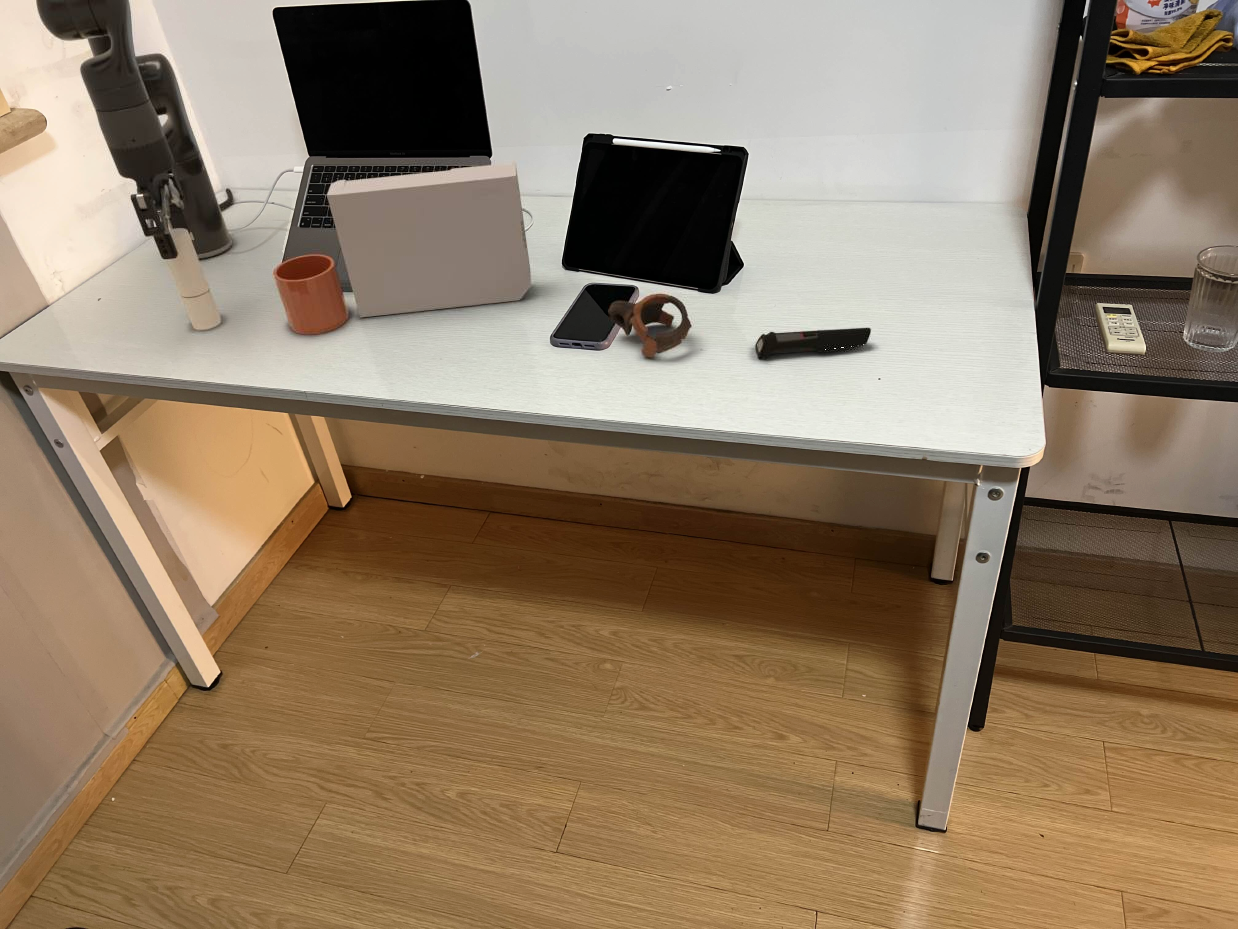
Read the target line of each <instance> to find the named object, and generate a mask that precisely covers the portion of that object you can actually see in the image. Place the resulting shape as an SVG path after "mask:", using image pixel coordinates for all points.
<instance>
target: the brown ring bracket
mask: <svg viewBox="0 0 1238 929" xmlns="http://www.w3.org/2000/svg"><path fill="white" fill-rule="evenodd" d="M665 304H672V305H673V306H675V307H676V309H678V310H679V312H680V315H681V321H680V324H679V325H678V326H677V327H676V328H675V329H673V330H671V331H669V332H655V333H654V334H655V337H653V336H651V335H650V334H649V328H648V327H647V326H648V325H650V324H661V325H664V326H667V327H672V325H673V321H674V319H675V316H674V315H673V314H670V313H668V312H667V311H665V310H663V308H664V306H665ZM607 313H608V315H609V317H610V319H611V320H612V322H614V324H615V325H617V326H618V327H620V328H621V329H622V330H623V332H624V333H625V336H626V337H629V336H630V334H631V332H632V330H634V332H635V333H636V336H638V338H639V339H640V340H641V341H642V342H643V347H642V349H641V355H642V356H645V357H647V358H648V359H649V358H650V359H652V358H653V357H654V356H656V354H661V353H662V354H663V353H665V352H667V351H669V350H672V349H674V348H676V347H677V346H679V345H681V344H682V341H683V340H685V339H686V337H687V336H688V333H689V331H690V329H691V328H692V326H693V325H692V322H691V321H690V319H689V314H688V310H687V308H686V306H685V304H684V303H683V302H682V301H681V300H680V299H679V298H677V297H675V296H673V295H670V294H666V293H653V294H649V295H647V296H645V297H643V298H642V299H641V300H639V301H638V302H635V303H634V302H629V301H628V300H627V301H626V300H616V301H613V302H612V303H611V304H610V306H609V308H608V310H607Z"/></svg>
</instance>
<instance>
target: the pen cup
mask: <svg viewBox="0 0 1238 929" xmlns="http://www.w3.org/2000/svg"><path fill="white" fill-rule="evenodd" d="M272 276H273V279H274V282H275V286H276V288H277V291H278V294H279V297H280V300H281V303H282V307H283V310H284V313H285V315H286V319H287V321H288V324H289V327H290V329H291V331H293V332H294V333H297V334H300V335H306V336H310V335H320V334H325V333H328V332H331V331H334V330H335V329H338V328H340V327H341V326H343V325H344V324H346V322H347V321H348V319H349V317H350V316H349V315H350V314H349V308H348V305H347V302H346V298H345V295H344V290H343V287H342V284H341V280H340V277H339V273H338V270H337V265H336V262H335V260H334V258H332V257H330V256H329V255H324V254H317V253H316V254H315V253H313V254H305V255H300V256H296V257H292V258H289V259H287V260H285V261H283V262H281V263H279V264H278V265H277V266H276V267H275V268H274V269H273V272H272Z"/></svg>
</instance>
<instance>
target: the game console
mask: <svg viewBox="0 0 1238 929" xmlns="http://www.w3.org/2000/svg"><path fill="white" fill-rule="evenodd" d="M326 197H327V201H328V205H329V209H330V213H331V215H332V220H333V223H334V226H335V230H336V234H337V238H338V243H339V245H340V249H341V253H342V256H343V259H344V264H345V267H346V271H347V275H348V278H349V282H350V287H351V289H352V293H353V296H354V300H355V305H356V308H357V311H358V315H359V318H368V317H379V316H388V315H395V314H397V315H398V314H405V313H416V312H422V311H423V312H425V311H433V310H443V309H453V308H459V307H460V308H461V307H469V306H479V305H490V304H497V303H498V304H499V303H508V302H516V301H520V300H521V299H522V298H523V297H524V296H525V294H526V293H527V291H529V289H530V288H531V286H532V275H531V264H530V257H529V250H528V243H527V235H526V228H525V220H524V212H523V206H522V198H521V192H520V183H519V177H518V169H517V162H516V161H515V162H509V163H498V164H487V165H477V166H467V167H455V168H451V169H449V170H441V171H439V170H438V171H432V172H422V173H421V172H420V173H411V174H410V173H409V174H401V175H392V176H382V177H371V178H362V179H353V180H352V179H351V180H346V179H340V180H337V181H335V182H332V183H330V186H329V189H328V191H327V193H326Z"/></svg>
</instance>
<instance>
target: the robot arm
mask: <svg viewBox="0 0 1238 929" xmlns="http://www.w3.org/2000/svg"><path fill="white" fill-rule="evenodd" d="M35 2H36V3H35V4H36V8H37V13H38V16H39V18H40V20H41V22H42V24H43V26H44V27H45V29H47V31H48V32H49V33H50V34H52V36H54V37H55V38H57V39H59V40H61V41H66V42H73V41H82V40H87V42H88V45H89V47H90V50H91V53H92V56H93V57H90V58H88V59H86V60H84V61H83V62H82V63H81V64H80V67H79V73H80V76H81V79H82V81H83V83H84V86H85V88H86V91H87V93H88V96H89V99H90V101H91V103H92V106H93V108H94V111H95V114H96V117H97V121H98V125H99V127H100V131H101V133H102V136H103V138H104V140H105V143H106V146H107V148H108V151H109V153H110V156H111V158H112V160H113V163H114V165H115V168H116V171H117V172H118V174H119V176H121V177H122V178H124V179H130V180H132V181H134V182H135V186H136V193H133V194H130V201H131V203H132V207H133V208H134V211H135V213H136V216H137V219H138V221H139V222H138V223H139V225H140V227H141V230H142V232H143V235H144V237H146V238H148V237H149V238H150V237H153V241H154V243H155V245H156V247H157V249H158V253H159V255H160V256H161V259H163V260H166V261H167V259H174V258H176V257H177V256H178V252H177V249H176V247H175V244H174V242H173V239H172V236H171V234H170V232H169V230H171V229H176V228H184V229H187V230H188V233H189V235H190V238H191V241H192V243H193V246H194V249H195V251H196V254H197V257H198V259H199V260H200V259H202V260H203V259H207V258H211V257H214V256H218V255H220V254H223V253H224V252H226V251H227V250H228V249H230V248H231V247H232V245H233V240H232V237H231V236H230V234H229V233H230V232H229V230H228V228H227V225H226V224H227V223H226V222H225V218H224V216H223V212H222V210H223V209H225V208H227V207H229V205H231V204H232V202H233V200H234V196H233V192H232V190H231V189H230V188H228V187H227V188H226V189H225V193H226V195H227V199H226V200H224V201H223V202H221V203H219V201H218V198H217V196H216V193H215V190H214V187H213V184H212V182H211V178H210V176H209V173H208V170H207V168H206V164H205V162H204V159H203V156H202V153H201V150H200V147H199V144H198V142H197V139H196V136H195V133H194V130H193V128H192V126H191V122H190V120H189V116H188V114H187V109H186V107H185V103H184V99H183V96H182V93H181V92H182V91H181V88H180V85H179V82H178V79H177V76H176V74H175V71H174V68H173V66H172V64H171V62H170V60H169V59H168V58H167V56H165V55H164V54H162V53H158V52H155V53H147V54H143V55H136V52H135V46H134V38H133V24H132V22H133V21H132V10H131V3H130V0H36V1H35ZM165 115H166V116H167V119H166V120H165V122H164V123H163V124H162V123H161V120H160V118H159V117H160V116H165Z"/></svg>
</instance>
